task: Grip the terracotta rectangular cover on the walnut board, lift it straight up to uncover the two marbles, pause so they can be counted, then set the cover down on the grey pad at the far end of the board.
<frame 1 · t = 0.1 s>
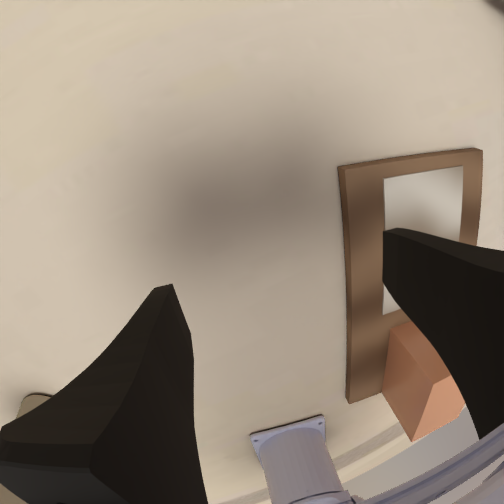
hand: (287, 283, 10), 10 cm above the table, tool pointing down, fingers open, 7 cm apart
terracotta cover: (410, 353, 27), point 1 cm above the table, touching walnut board
walnut board: (413, 289, 25), on the table
travel mug: (56, 415, 25), on the table
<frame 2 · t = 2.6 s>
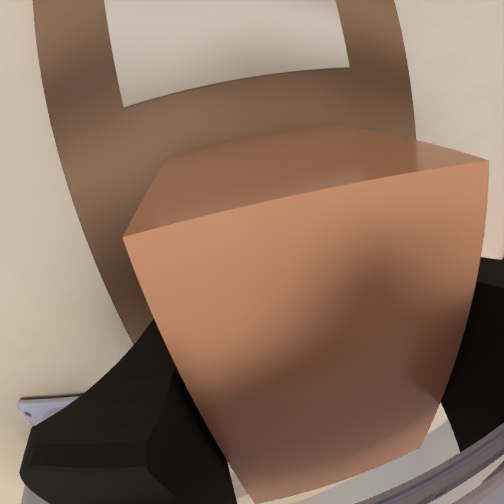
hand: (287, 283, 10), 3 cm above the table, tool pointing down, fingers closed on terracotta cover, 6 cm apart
terracotta cover: (274, 257, 12), point 1 cm above the table, touching gripper, walnut board
walnut board: (234, 68, 10), on the table
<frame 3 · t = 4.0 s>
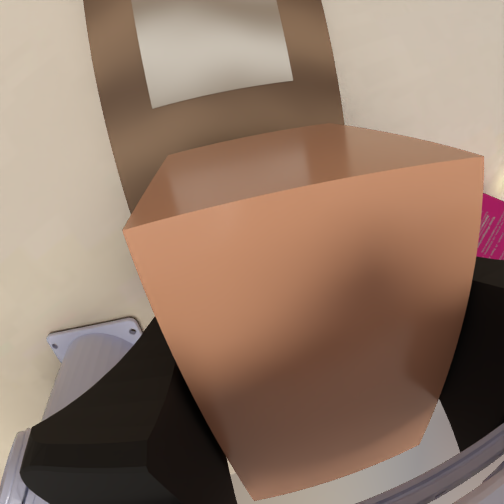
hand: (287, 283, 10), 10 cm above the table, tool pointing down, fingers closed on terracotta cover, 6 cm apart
terracotta cover: (273, 255, 12), point 8 cm above the table, touching gripper
walnut board: (220, 84, 16), on the table
supplement box: (462, 226, 23), on the table
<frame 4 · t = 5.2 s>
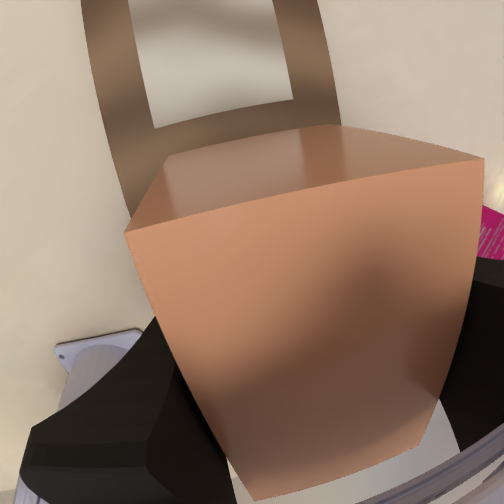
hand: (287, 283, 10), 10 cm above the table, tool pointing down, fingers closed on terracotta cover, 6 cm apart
terracotta cover: (273, 256, 12), point 8 cm above the table, touching gripper
walnut board: (221, 103, 17), on the table
supplement box: (459, 236, 24), on the table
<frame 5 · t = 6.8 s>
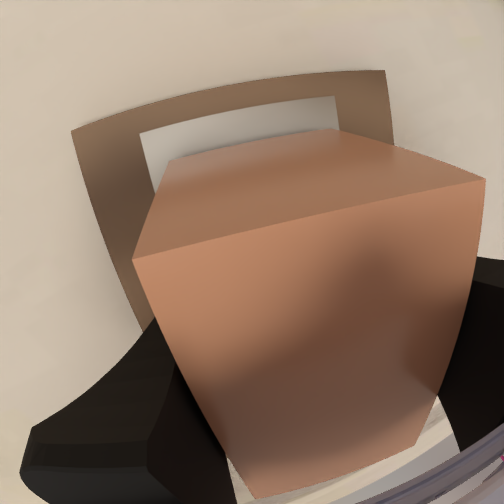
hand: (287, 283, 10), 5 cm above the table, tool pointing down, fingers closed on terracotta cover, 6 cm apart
terracotta cover: (273, 259, 12), point 3 cm above the table, touching gripper
walnut board: (276, 319, 17), on the table
when the fingers open (4 cm above the table, at t = 7.9 s): terracotta cover stays where it is, resting on walnut board.
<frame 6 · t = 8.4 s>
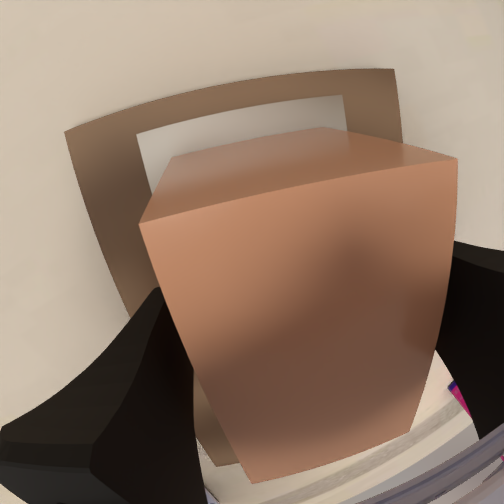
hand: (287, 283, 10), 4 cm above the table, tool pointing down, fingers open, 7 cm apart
terracotta cover: (270, 251, 13), point 1 cm above the table, touching walnut board
walnut board: (279, 326, 16), on the table
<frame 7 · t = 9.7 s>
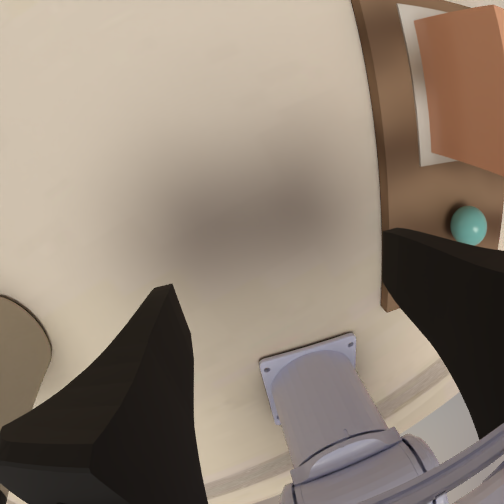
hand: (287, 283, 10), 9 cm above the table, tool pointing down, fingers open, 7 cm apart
terracotta cover: (454, 86, 16), point 1 cm above the table, touching walnut board
walnut board: (448, 150, 19), on the table
travel mug: (11, 333, 20), on the table
teal marble: (468, 226, 19), point 2 cm above the table, touching walnut board
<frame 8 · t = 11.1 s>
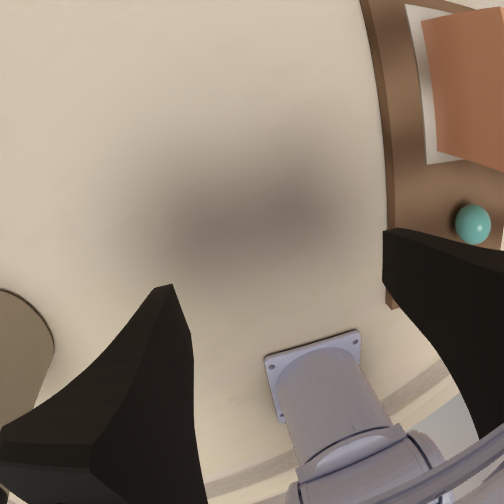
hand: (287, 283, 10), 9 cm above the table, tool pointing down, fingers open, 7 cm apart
terracotta cover: (459, 86, 16), point 1 cm above the table, touching walnut board
walnut board: (453, 149, 19), on the table
travel mug: (13, 329, 20), on the table
teal marble: (473, 224, 20), point 2 cm above the table, touching walnut board
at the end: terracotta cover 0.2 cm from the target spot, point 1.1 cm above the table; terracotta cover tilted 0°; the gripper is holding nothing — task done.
